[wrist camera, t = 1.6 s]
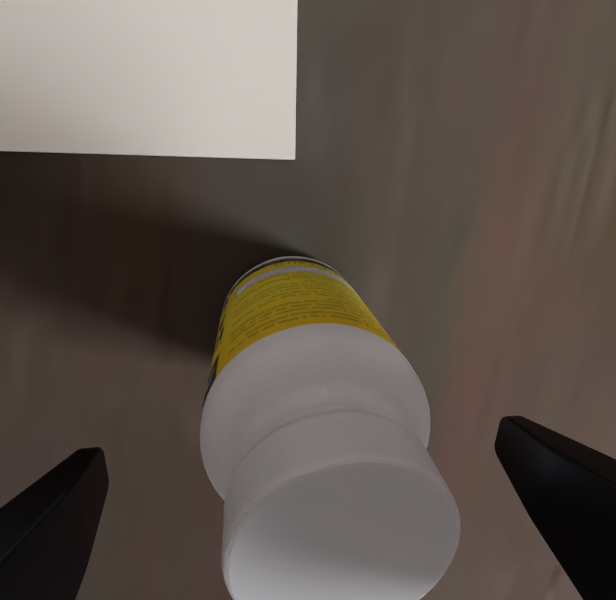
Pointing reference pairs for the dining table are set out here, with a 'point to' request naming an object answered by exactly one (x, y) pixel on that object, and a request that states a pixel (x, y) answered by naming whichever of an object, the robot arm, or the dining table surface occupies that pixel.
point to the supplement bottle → (320, 446)
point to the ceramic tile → (149, 77)
